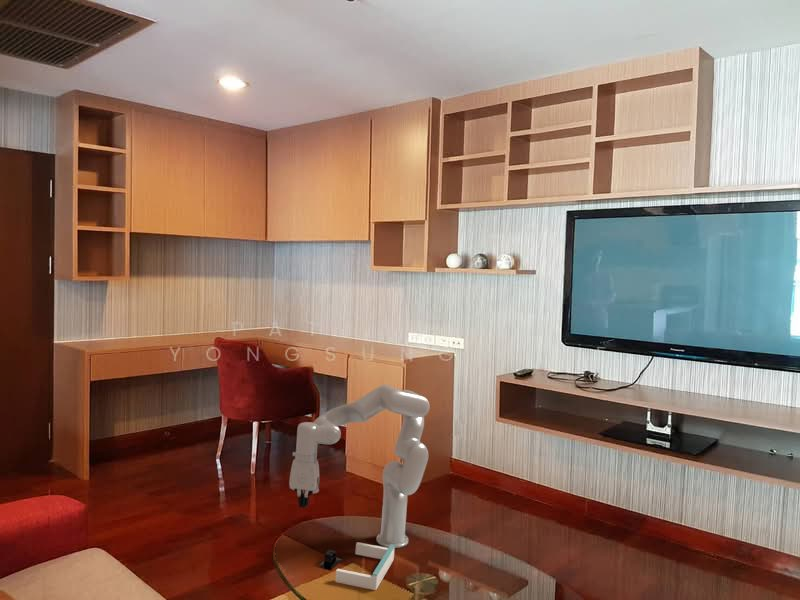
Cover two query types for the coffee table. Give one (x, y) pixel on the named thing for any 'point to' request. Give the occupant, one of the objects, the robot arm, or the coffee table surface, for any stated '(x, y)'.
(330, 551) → the black irregular block
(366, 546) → the frame
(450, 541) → the coffee table surface
